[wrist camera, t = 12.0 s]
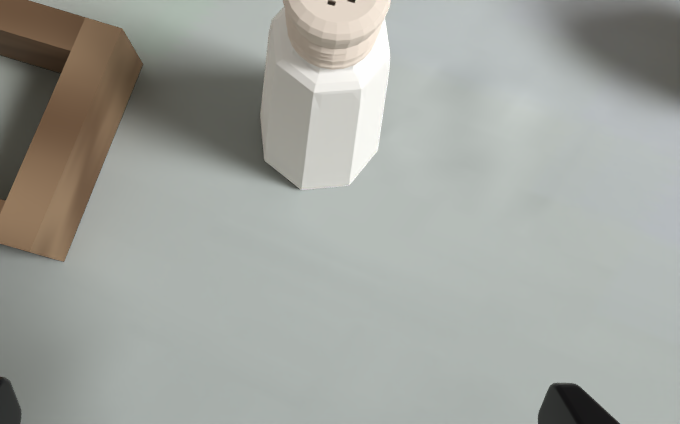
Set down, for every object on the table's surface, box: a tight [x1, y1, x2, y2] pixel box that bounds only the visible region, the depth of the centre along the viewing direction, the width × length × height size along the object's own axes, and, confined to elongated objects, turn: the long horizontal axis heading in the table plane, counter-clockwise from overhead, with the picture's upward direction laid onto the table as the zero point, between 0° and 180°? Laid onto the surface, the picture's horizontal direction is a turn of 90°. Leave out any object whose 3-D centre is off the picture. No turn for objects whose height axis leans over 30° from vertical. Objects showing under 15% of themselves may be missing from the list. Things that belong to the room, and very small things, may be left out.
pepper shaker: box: [260, 0, 391, 190], centre depth 19 cm, size 5×5×11 cm
